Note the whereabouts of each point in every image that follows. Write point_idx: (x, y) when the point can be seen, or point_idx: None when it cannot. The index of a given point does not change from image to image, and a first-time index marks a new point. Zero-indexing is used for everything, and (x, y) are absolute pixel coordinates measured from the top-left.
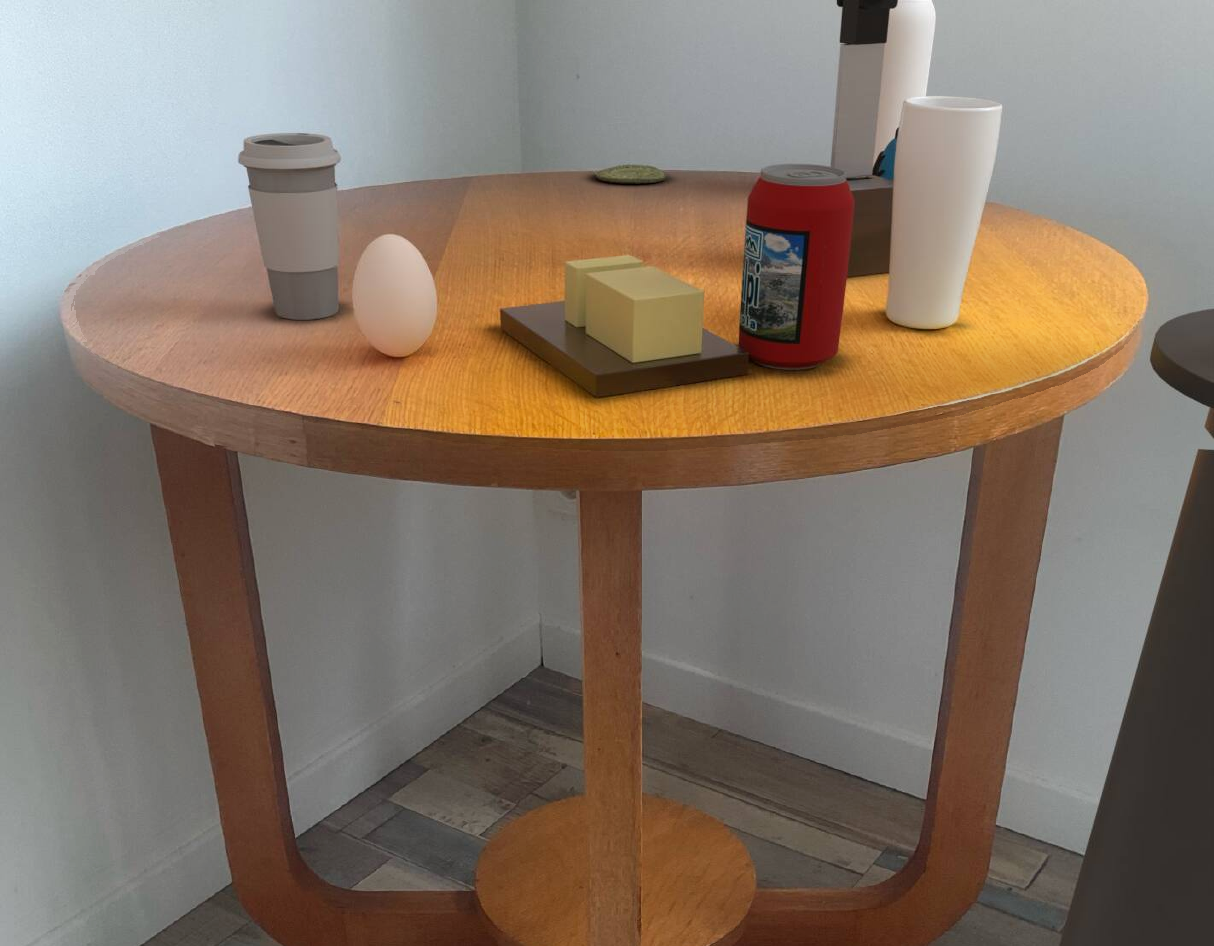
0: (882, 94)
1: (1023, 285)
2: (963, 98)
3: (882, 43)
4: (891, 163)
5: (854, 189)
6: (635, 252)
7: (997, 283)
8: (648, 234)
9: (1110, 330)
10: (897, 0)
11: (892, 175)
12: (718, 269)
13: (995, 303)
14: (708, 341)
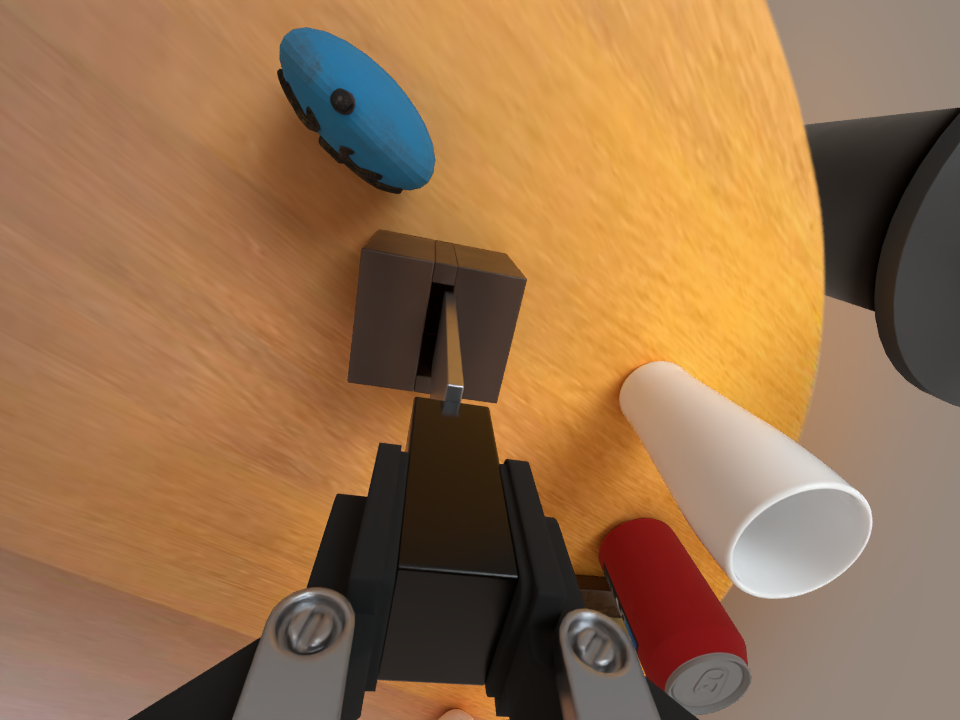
0: None
1: (656, 165)
2: (788, 495)
3: (461, 392)
4: (392, 172)
5: (501, 376)
6: (250, 454)
7: (627, 187)
8: (157, 388)
9: (810, 254)
10: (529, 468)
11: (406, 179)
12: (372, 425)
13: (672, 270)
14: (605, 602)
